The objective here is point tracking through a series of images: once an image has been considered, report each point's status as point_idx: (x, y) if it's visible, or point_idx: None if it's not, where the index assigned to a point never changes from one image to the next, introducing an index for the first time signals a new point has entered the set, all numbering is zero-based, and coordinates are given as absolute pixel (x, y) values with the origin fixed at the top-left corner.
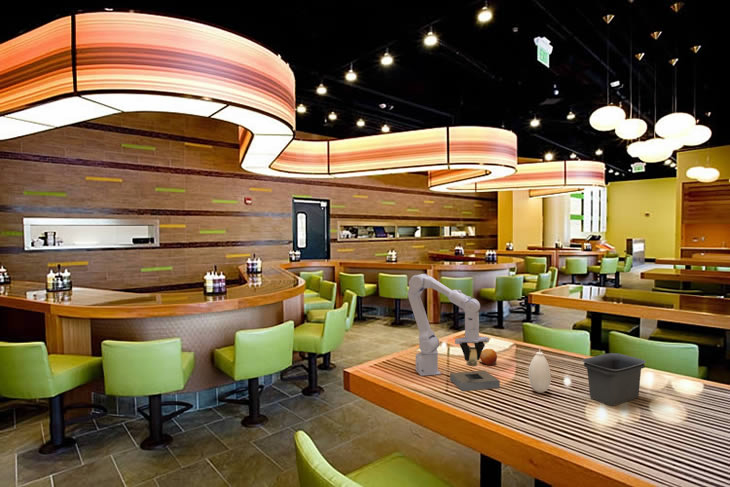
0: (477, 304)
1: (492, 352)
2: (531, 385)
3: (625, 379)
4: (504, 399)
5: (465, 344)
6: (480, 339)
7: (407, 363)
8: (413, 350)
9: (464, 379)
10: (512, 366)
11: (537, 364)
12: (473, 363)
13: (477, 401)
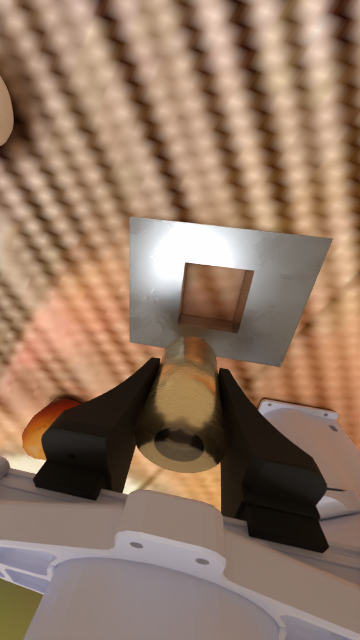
0: None
1: (34, 433)
2: (5, 107)
3: None
4: (200, 65)
5: (279, 507)
6: (46, 542)
7: None
8: None
9: (280, 283)
10: (16, 371)
11: None
12: (198, 345)
13: (351, 79)
